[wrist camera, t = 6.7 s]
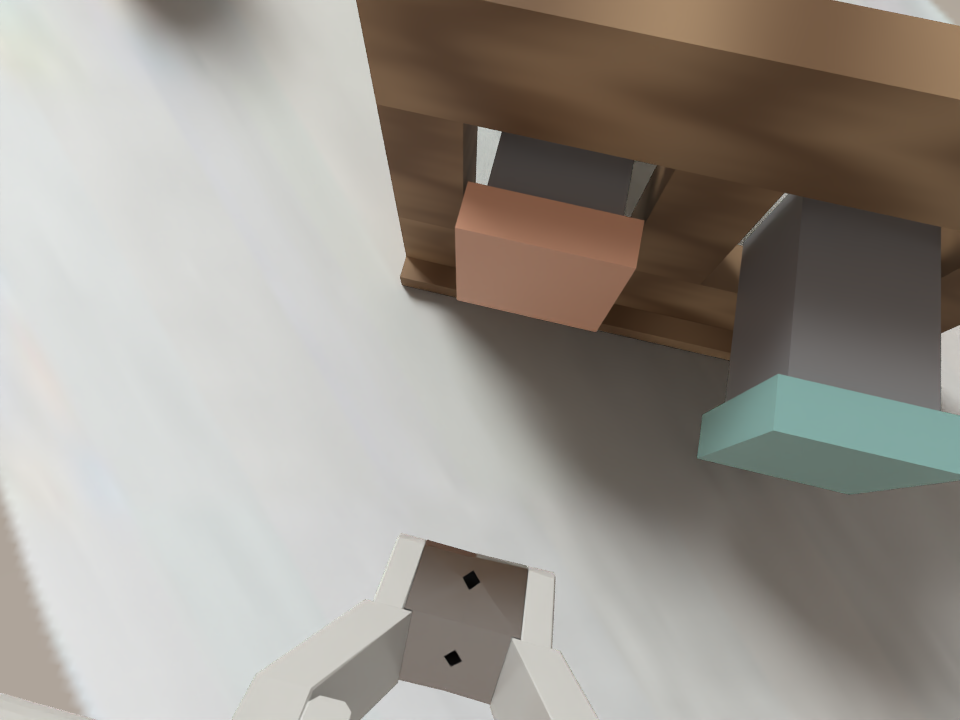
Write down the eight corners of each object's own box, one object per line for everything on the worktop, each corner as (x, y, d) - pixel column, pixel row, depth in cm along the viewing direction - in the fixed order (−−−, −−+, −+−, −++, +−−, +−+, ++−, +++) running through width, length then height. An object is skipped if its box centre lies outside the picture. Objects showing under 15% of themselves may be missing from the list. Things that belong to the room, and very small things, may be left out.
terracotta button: (631, 144, 23) (675, 39, 18) (595, 332, 21) (635, 268, 16) (506, 116, 23) (517, 6, 18) (456, 300, 21) (454, 227, 16)
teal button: (859, 276, 22) (972, 200, 17) (849, 494, 19) (977, 478, 14) (723, 246, 22) (796, 162, 17) (697, 458, 19) (773, 430, 15)
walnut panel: (864, 285, 26) (1274, 20, 13) (860, 390, 25) (1315, 214, 12) (431, 188, 27) (400, -153, 14) (401, 284, 26) (336, 8, 13)
